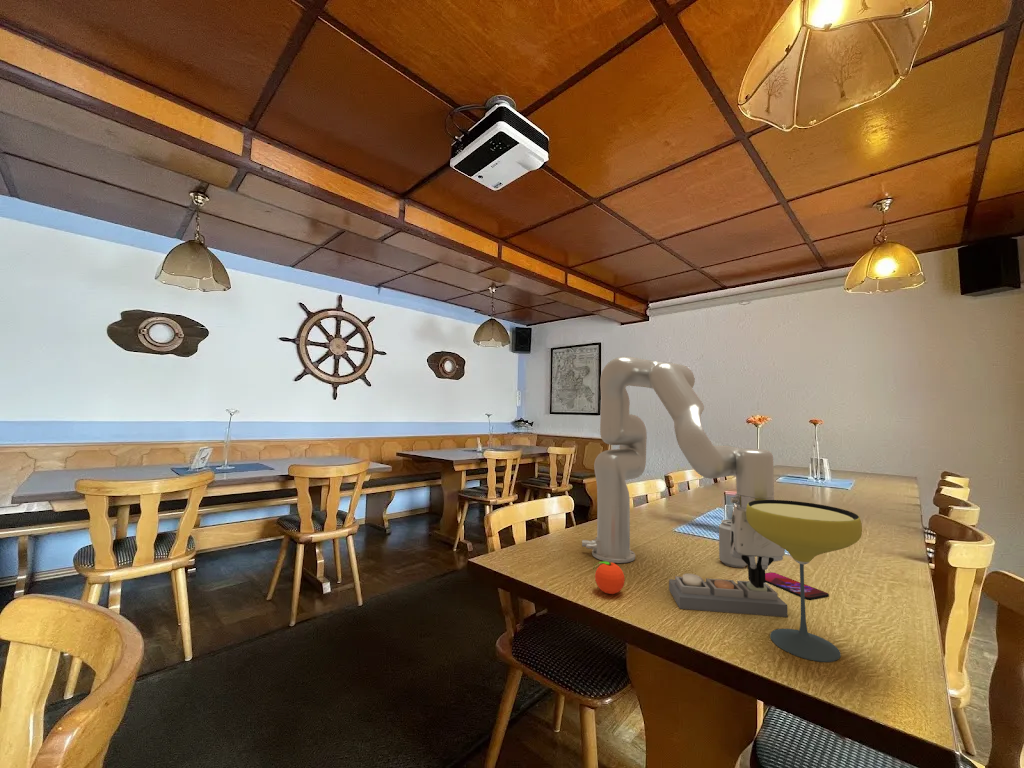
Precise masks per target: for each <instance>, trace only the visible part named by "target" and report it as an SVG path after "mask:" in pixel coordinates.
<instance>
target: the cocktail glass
mask: <svg viewBox="0 0 1024 768" xmlns="http://www.w3.org/2000/svg"><path fill="white" fill-rule="evenodd" d="M746 517H747V521H748V523H749V525H750V526H751V527H752V528H753V529H754V530H755V531H756V532H758V533H759V534H760V535H762V536H763V537H765V538H767V539H768V540H770V541H772V542H774V543H775V544H777V545H779V546H781V547H782V548H784V549H785V551H787V553H788V554H789V555H790V556H791V558H792V559H793V561H795V562H796V563H797V564H799V577H800V578H799V582H800V592H801V597H800V621H799V623H800V624H799V629H794V628H777V629H774V630H772V631H771V632H770V634H769V635H770V636H769V637H770V640H771V641H772V643H773V644H774V645H775V646H777V647H778V648H779V649H781V650H783V651H784V652H786V653H788V652H789V654H790V653H791V655H793V656H796V657H798V658H801V659H805V660H808V661H812V660H813V661H814V662H820V663H831V662H835V661H838V660H839V659H840V658H841V656H842V655H841V651H840V649H839V648H838V647H837V646H836V645H835V644H834V643H832V642H831V641H829V640H828V639H825V638H823V637H822V636H819V635H816V634H813V633H810V632H808V627H807V619H806V618H807V617H806V599H805V592H804V584H805V565H807V564H809V563H810V562H811V561H813V560H814V558H815V557H817V556H820V555H823V554H826V553H830V552H831V553H832V552H834V551H836V552H837V551H840V550H843V549H846V548H849V547H850V546H852V545H854V544H856V543H857V542H859V541H860V539H861V538H862V534H863V525H862V519H861V517H860V515H858V514H856V513H855V512H853V511H849V510H846V509H842V508H839V507H835V506H830V505H826V504H820V503H819V504H818V503H812V502H805V501H804V502H803V501H796V500H795V501H794V500H788V499H787V500H785V499H774V500H755V501H751V502H749V503H748V504H747V508H746Z"/></svg>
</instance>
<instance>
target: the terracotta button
mask: <svg viewBox="0 0 1024 768" xmlns="http://www.w3.org/2000/svg"><path fill="white" fill-rule="evenodd" d="M725 580H726V579H722V580H715V581H714V585H715V587H716V588H724V589H734V584H733V583H731V582H729V581H725Z"/></svg>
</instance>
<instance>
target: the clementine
mask: <svg viewBox="0 0 1024 768" xmlns="http://www.w3.org/2000/svg"><path fill="white" fill-rule="evenodd" d="M598 564H599V566H598V567H597V568H596V570H595V573H594V580H595V583H596V585H597V586H596V587H597V588H599V589H600V591H602V592H603V593H605V594H607V595H614V594H617V593H619V592H620V591H621V590H622V589H623V588H624V586H625V580H626V579H625V574H624V571H623V570H622V569H621V567H620V566H619V565H617V563H612V562H606V561H599V562H598ZM596 565H597V563H595V564H594V565H593V569H595V566H596Z"/></svg>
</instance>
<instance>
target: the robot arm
mask: <svg viewBox="0 0 1024 768" xmlns="http://www.w3.org/2000/svg"><path fill="white" fill-rule="evenodd" d="M695 378H696V377H695V374H694V373H693V371H692V370H691V369H690V368H689V367H688V366H686V365H684V364H679V363H672V362H662V361H655V360H650V359H644V358H638V357H633V356H619V357H616V358H613V359H611V360H610V361H609V362H608V363H607V364H606V365H604V367H603V369H602V371H601V374H600V382H599V383H600V384H599V385H600V387H599V388H600V396H601V397H600V398H601V399H600V418H599V419H600V421H599V422H600V427H599V434H600V438H601V440H602V442H604V443H605V444H607V445H610V446H619V448H615V449H608V450H607V449H605V450H603V451H601V452H600V453H598V455H597V456H596V458H595V459H594V462H593V463H594V464H593V468H594V475H595V482H596V491H597V492H596V498H597V499H596V500H597V502H596V504H597V508H596V509H597V516H596V517H597V518H596V519H597V520H596V521H597V524H596V525H597V526H596V529H597V530H596V531H597V533H596V534H597V535H596V536H595V539H592V540H588V539H582V540H581V547H582V548H583V547H585V548H586V549H589V550H590V549H591V555H592V556H593V557H594V558H595V559H597V560H600V561H601V562H603V561H605V562H612V563H615V564H625V563H630V562H634V560H635V559H636V553H635V552H634V551H633V550H631V541H630V540H631V538H630V537H631V533H630V530H631V528H630V527H631V523H630V522H631V519H630V518H631V515H630V514H631V513H630V509H631V508H630V507H631V506H630V503H631V501H630V498H631V497H630V491H629V488H628V485H627V482H626V481H628V480H635V479H638V478H639V477H640V476H642V475H643V474H644V472H645V468H646V465H647V433H648V432H647V428H646V425H645V423H644V421H643V420H642V418H641V417H639V416H638V415H635V414H632V413H631V414H630V404H631V403H630V396H629V393H628V391H627V387H630V386H631V387H640V388H647V389H652V390H654V392H655V393H656V395H657V396H658V399H659V400H660V402H661V403H662V405H663V406H664V407H665V409H666V410H667V412H668V414H669V415H670V417H671V419H672V421H673V426H674V427H673V428H674V432H675V438H676V442H677V443H678V447H679V448H680V450H681V453H682V454H683V455H684V457H685V459H686V460H687V462H688V464H689V465H690V466H691V467H692V469H694V472H696V473H697V474H698V475H700V476H701V477H703V478H706V479H718V478H725V477H736V478H735V480H736V481H735V482H736V484H735V485H736V489H735V490H736V493H735V496H730V501H729V502H730V503H731V504H735V505H736V506H734V507H733V510H732V515H731V519H730V520H731V530H730V544H731V547H732V549H731V553H730V554H731V556H733V557H734V558H737V559H741V560H743V561H744V562H745V563H746V564H747V565H746V566H747V570H748V571H747V573H748V574H747V575H748V576H747V577H748V581H750V582H751V584H753V585H754V586H755V587H756V588H759V587H760V588H764V583H766V582H765V573H766V571H767V569H768V567H769V566H770V565H771V564H772V563H773V562H779V561H782V560H784V557H783V556H785V551H786V550H785V549H784V548H782V547H781V546H779V545H777V544H775V543H774V542H772V541H770V540H768V539H767V538H765V537H763V536H762V535H760V534H759V533H758V532H756V531H755V530H754V529H753V528H752V527H751V526H750V525H749V523H748V521H747V517H746V508H747V504H748V503H749V502H751V501H755V500H775V473H774V456H773V453H772V452H771V451H770V450H767V449H762V448H741V447H735V446H732V445H731V446H730V445H714V444H713V442H712V441H711V439H710V438H709V437H708V435H707V433H706V432H705V429H704V428H703V425H702V422H701V420H702V419H701V418H702V417H701V416H702V413H703V412H704V410H705V405H704V403H703V401H702V399H700V397H699V396H698V394H697V393H696V392H695V390H694V389H693V388H694V385H695V384H696V383H695V382H696V381H695V380H696V379H695Z"/></svg>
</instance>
